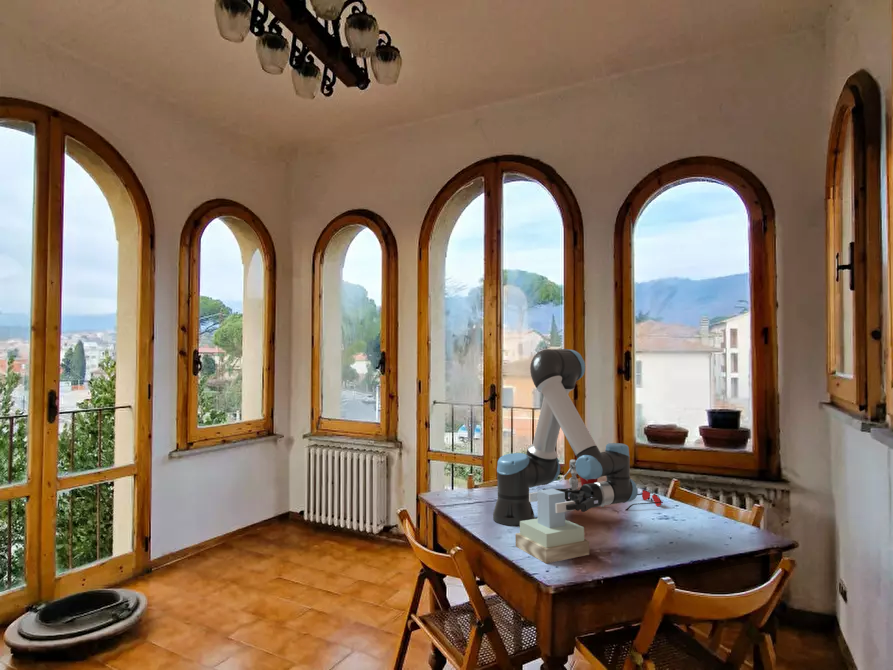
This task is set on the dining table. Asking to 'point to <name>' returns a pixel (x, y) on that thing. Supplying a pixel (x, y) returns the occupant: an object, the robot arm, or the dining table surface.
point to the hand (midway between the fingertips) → (542, 502)
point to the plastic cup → (584, 481)
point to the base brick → (552, 549)
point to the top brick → (551, 533)
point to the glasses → (646, 496)
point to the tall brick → (550, 508)
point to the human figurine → (573, 479)
